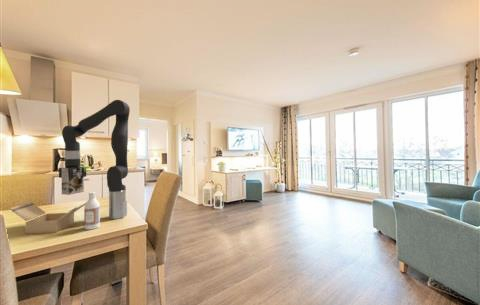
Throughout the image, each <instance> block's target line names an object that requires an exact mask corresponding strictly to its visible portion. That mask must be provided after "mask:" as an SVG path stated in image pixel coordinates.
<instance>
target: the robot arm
mask: <svg viewBox="0 0 480 305" xmlns="http://www.w3.org/2000/svg"><path fill="white" fill-rule="evenodd" d="M113 116H115V125H114V127H113V129H112V132H111V139H110V146H111V149H112V151H113V154H114V156H115V165H113V166H110V167H108V169H107V170H106V171H107V172H106V182H107V184H106V185H107V188H108V218H109V219H111V220H116V219H123V218H125V217H126V216H127V215H128V202H127V200H126V199H127V198H126V197H127V196H126V192H127V191H126V190H127V189H126V185H125V184H123V179H125V178H127V176H128V173H129V168H128V166H129V165H128V142H129V117H130V106H129V104H128V103H127V102H125V101H123V100H120V99H115V100H112V101H111V102H109V104H107V105H105V107H103V108H101V109H100V110H98V111H97V112H95V113H93V114H91V115H89V116H87V117H85V118H83V119H81V120H80V121H79V122H78V124H76V125H65V126H63V128H62V130H61V134H62V138H63V139H62V140H63V142H64V146H65V147H64V168H77V172H78V171H79V170H81V171H82V174H81V173H77V172H76V176H78V178H79V179H78V183H79V184H82V183H83V177H84V178H85V177H87V167H86V166H85V167H84V166H83V167H84V168H81V167H82V166H81V148H80V147H81V146H80V144H81V143H80V142H79V141H78V140H77V138H79V137H82V136H83V135H85V134H86V133H87V132H88V131H90V130H93V129H94V128H96V127H99V125H101V124H102V123H104V121H105V120H107V119H108V118H110V117H113ZM62 168H63V167H59V168H58V178H60V179H62Z"/></svg>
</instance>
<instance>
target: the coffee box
mask: <svg viewBox="0 0 480 305" xmlns="http://www.w3.org/2000/svg"><path fill="white" fill-rule="evenodd" d="M80 167H81V168H84V166H80ZM61 168H62V178H61V195H65V196H70V195H75V194H76V195H77V194H80V193H84V191H85V181H84V180H85V177H83V183H82V184H79V183H78V179H79V178H78V176H76V172H77V168H65V167H61ZM77 173H81V174H82V171H81V170H79V171H78V172H77Z"/></svg>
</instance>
